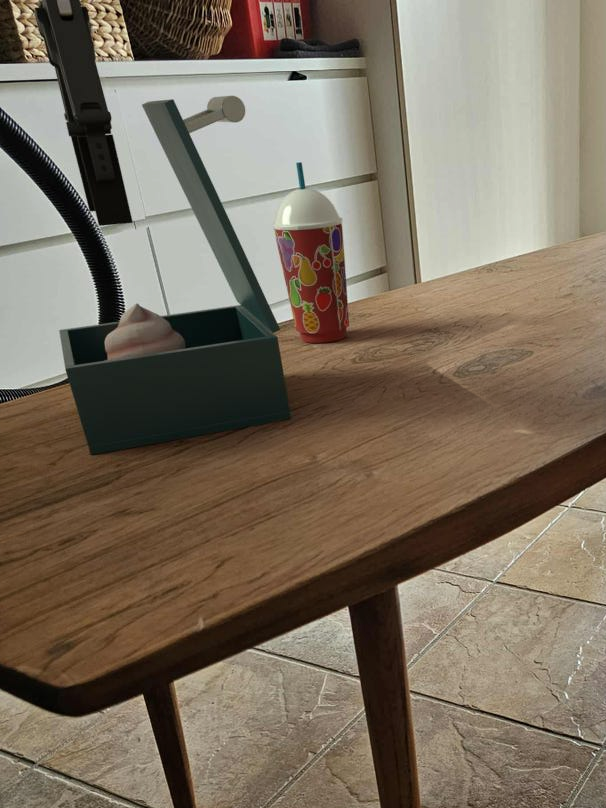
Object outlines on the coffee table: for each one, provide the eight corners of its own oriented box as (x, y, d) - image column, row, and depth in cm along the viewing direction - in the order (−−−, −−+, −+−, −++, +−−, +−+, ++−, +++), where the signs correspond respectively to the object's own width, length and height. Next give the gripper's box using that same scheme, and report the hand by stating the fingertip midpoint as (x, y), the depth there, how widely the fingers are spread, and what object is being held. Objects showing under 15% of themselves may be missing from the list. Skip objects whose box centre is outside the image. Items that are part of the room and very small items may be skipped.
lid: (164, 102, 71) (241, 70, 72) (141, 104, 85) (206, 77, 86) (272, 333, 83) (337, 302, 84) (237, 301, 97) (293, 275, 98)
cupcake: (161, 426, 85) (134, 316, 80) (91, 417, 89) (60, 311, 83) (226, 397, 92) (205, 295, 87) (158, 390, 96) (134, 291, 90)
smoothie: (369, 333, 116) (349, 158, 106) (328, 348, 110) (301, 165, 100) (320, 328, 120) (296, 159, 110) (278, 343, 114) (247, 166, 104)
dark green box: (90, 455, 81) (65, 368, 77) (81, 405, 95) (58, 329, 91) (291, 418, 87) (277, 336, 83) (254, 376, 101) (241, 304, 97)
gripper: (99, -114, 61) (170, 226, 72) (80, -59, 81) (138, 201, 92) (-22, -116, 59) (71, 235, 70) (-10, -59, 78) (61, 208, 90)
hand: (109, 217), depth 81 cm, fingers open, 13 cm apart
